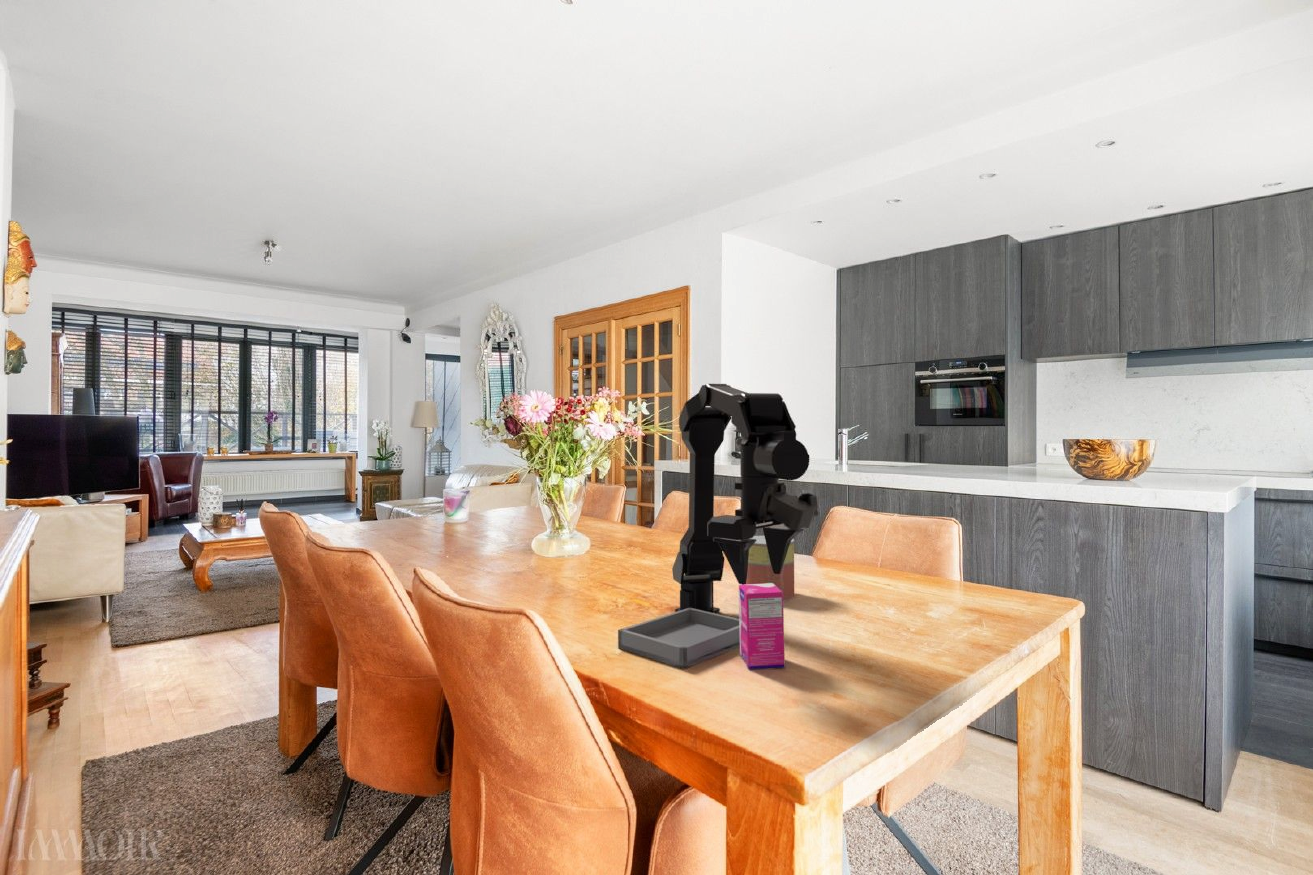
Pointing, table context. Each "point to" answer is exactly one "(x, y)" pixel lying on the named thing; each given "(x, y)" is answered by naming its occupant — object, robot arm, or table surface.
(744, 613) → the supplement box
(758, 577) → the canned food
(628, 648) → the tray
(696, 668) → the table surface
